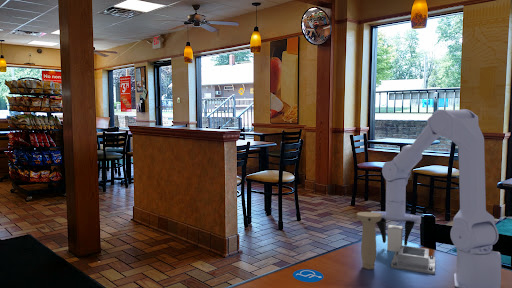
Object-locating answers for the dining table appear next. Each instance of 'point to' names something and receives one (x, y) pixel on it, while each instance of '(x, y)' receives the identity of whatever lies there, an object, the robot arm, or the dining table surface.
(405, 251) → the bracket
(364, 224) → the handle
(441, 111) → the robot arm
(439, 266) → the dining table surface
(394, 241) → the block
